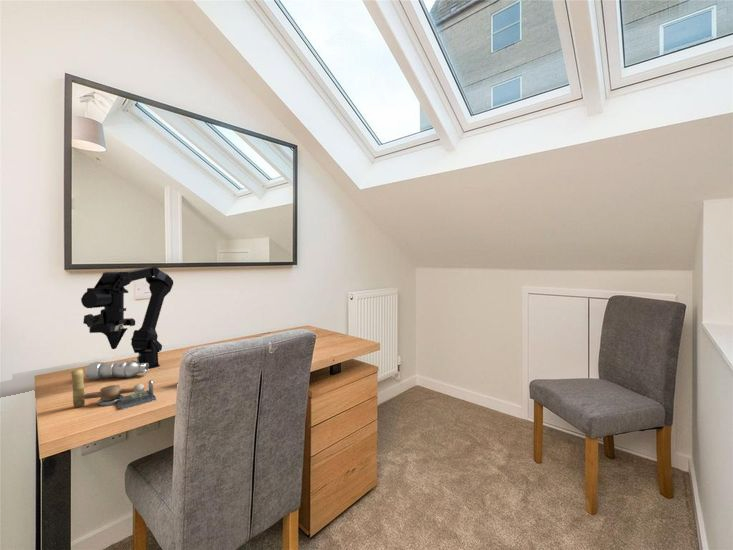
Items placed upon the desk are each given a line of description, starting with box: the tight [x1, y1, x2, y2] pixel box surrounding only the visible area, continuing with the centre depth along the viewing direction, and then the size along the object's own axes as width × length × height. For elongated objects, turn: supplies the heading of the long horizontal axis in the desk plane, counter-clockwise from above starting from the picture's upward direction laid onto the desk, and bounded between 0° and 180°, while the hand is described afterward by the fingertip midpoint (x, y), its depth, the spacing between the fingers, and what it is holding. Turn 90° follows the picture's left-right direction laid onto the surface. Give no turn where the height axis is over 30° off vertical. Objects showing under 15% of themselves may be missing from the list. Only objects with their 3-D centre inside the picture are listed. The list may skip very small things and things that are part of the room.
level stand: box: [97, 380, 157, 410], centre depth 107 cm, size 14×12×5 cm
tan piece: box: [71, 368, 145, 408], centre depth 106 cm, size 18×5×11 cm, turn 113°
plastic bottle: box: [84, 359, 150, 381], centre depth 128 cm, size 6×7×20 cm
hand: (113, 348), depth 123 cm, fingers closed
